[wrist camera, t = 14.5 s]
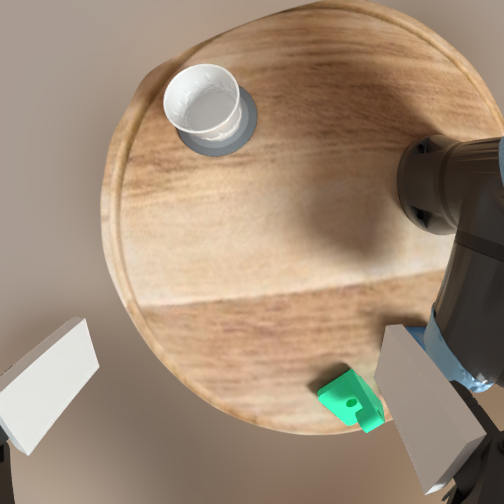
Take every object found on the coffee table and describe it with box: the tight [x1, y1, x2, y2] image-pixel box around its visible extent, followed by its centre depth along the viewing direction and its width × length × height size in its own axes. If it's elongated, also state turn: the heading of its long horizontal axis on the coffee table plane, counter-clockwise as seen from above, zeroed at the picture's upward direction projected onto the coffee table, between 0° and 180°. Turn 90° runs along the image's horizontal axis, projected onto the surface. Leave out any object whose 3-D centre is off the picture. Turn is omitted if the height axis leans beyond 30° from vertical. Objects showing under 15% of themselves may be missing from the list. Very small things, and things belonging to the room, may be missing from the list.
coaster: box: [177, 86, 257, 157], centre depth 35 cm, size 11×11×1 cm
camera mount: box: [317, 369, 385, 433], centre depth 40 cm, size 12×8×10 cm, turn 41°
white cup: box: [163, 64, 242, 141], centre depth 29 cm, size 8×8×10 cm
